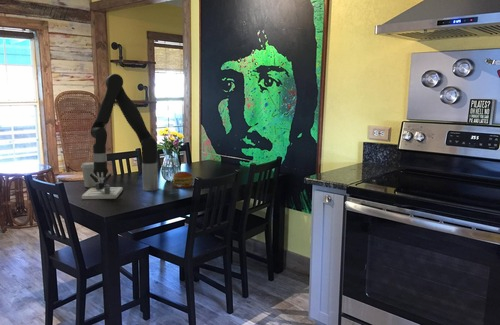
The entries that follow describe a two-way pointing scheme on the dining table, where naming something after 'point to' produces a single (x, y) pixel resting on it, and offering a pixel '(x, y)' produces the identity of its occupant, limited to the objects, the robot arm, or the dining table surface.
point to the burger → (182, 180)
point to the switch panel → (102, 193)
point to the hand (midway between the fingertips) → (101, 188)
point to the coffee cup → (88, 174)
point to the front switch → (107, 190)
